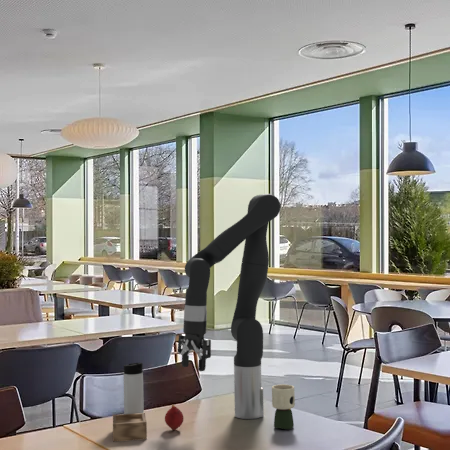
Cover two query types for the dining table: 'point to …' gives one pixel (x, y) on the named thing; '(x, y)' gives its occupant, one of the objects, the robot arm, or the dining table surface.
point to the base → (129, 427)
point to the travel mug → (133, 388)
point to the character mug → (283, 405)
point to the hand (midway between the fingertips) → (193, 368)
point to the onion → (174, 418)
